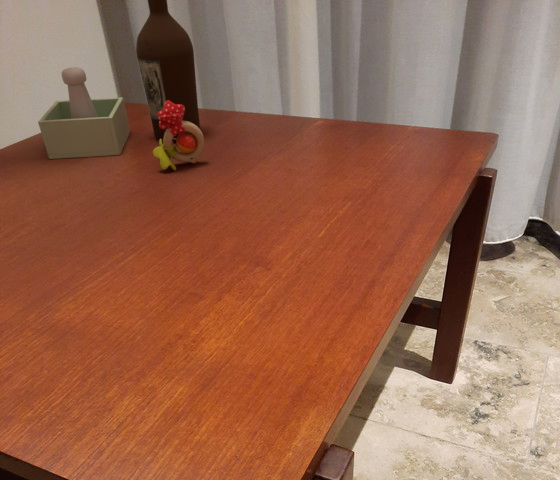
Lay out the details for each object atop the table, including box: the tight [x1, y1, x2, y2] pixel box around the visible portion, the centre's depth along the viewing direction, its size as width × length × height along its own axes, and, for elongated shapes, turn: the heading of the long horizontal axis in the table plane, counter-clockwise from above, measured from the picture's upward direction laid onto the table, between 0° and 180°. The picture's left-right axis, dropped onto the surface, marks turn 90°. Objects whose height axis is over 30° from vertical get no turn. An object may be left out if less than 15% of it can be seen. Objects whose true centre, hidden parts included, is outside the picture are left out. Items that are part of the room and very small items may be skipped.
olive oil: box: [135, 0, 201, 143], centre depth 106 cm, size 11×11×25 cm
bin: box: [37, 96, 131, 160], centre depth 109 cm, size 14×14×7 cm
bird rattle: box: [152, 100, 205, 172], centre depth 98 cm, size 6×11×9 cm
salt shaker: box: [61, 66, 98, 119], centre depth 106 cm, size 6×6×13 cm
